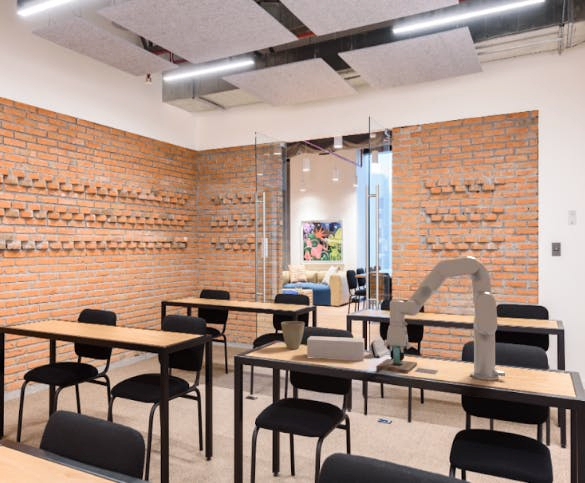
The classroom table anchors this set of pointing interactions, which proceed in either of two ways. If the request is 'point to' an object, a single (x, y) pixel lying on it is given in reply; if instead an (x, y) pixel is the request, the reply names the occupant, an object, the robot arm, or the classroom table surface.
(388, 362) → the hole board
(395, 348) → the peg
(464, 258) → the robot arm
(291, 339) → the plant pot
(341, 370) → the classroom table surface
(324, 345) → the long grey foam brick
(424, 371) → the plate
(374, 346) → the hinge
